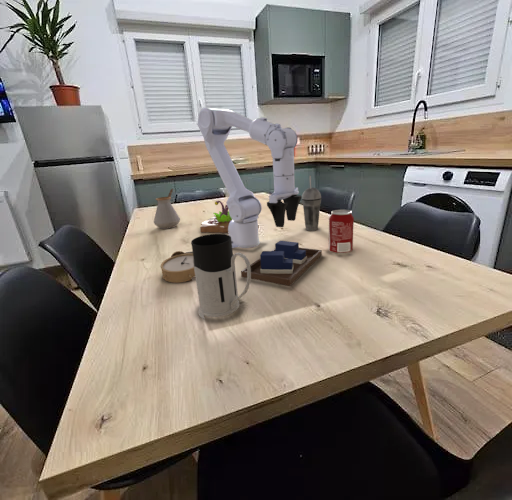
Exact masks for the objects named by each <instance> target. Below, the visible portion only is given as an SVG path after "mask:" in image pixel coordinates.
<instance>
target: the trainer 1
mask: <svg viewBox="0 0 512 500" xmlns="http://www.w3.org/2000/svg"><path fill="white" fill-rule="evenodd" d="M259 256H260V257H259V259H261V269H260V272H261V273H271V274H293V269H294V266H293V259H285V258H284V251H272V250H262V251H261V253H260V255H259Z"/></svg>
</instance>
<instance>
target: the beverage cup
mask: <svg viewBox="0 0 512 500" xmlns="http://www.w3.org/2000/svg"><path fill="white" fill-rule="evenodd" d="M301 196H302V198H301V203H302V207H303V208H302V209H303V217H304V218H303V219H304V226H305V230H306V231H312V232H314V231H317V230H319V222H320V211H321V203H322V193H321V191H319V189H318V188H316V187H312V175H309V187H307V188H306V189H304V191H303V192H302V194H301Z"/></svg>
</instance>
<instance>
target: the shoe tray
mask: <svg viewBox="0 0 512 500" xmlns="http://www.w3.org/2000/svg"><path fill="white" fill-rule="evenodd" d="M299 250H306V256H307V260H306V261H305V262H304V263H302V264H297V263H293V266H294V269H293V274H271V273H261V272H260V269H261V259H260V258H259V259H257V260H256V261H254V262H252V263H250V267H251V280H256V281H261V282H266V283H270V284H271V283H272V284H276V285H281V286H287V287H291V285H293V284H294V283H295V282H296V281H297V280H298V279H299V278H300V277H301V276H302V275H303V274H304V273H305V272H307V270H308V269H309V268H310V267H311V266H312V265H313V264H314V263H316V262H317V261H318V260H319V259H320V258H321V257H322V255H323V250H322V249H315V248H307V247H299ZM271 251H275V248H273V249H272V250H271ZM240 275H241V278H246V279H247V267H245V268H243V269H241V271H240Z"/></svg>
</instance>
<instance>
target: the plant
mask: <svg viewBox="0 0 512 500" xmlns="http://www.w3.org/2000/svg"><path fill="white" fill-rule="evenodd" d="M219 204H220V205H221V211H218V213H217V212H213V217H210V218H208V219H206V220H204V221H202V222H201V223H200V232H201V233H210V234H227V233H228V226H229V223H230V221H232V220H233V219H232V218H231V217H230V214H229V209H228V206H227V204H225V205H224V203H223V202H222V201H221V200H216V201H214V205H215V206H218V205H219Z"/></svg>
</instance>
